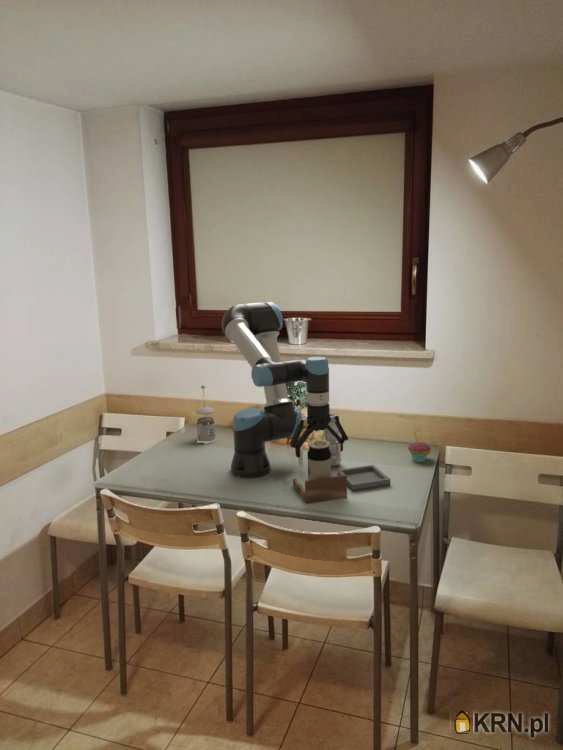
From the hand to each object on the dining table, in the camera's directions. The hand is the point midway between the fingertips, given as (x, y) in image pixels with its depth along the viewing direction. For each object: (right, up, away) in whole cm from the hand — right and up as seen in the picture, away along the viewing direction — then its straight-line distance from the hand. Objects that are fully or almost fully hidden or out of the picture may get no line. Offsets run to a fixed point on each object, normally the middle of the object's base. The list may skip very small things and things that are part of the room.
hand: (319, 463), depth 210 cm
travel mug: (0, -11, +3) cm, 11 cm away
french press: (-46, +2, +60) cm, 76 cm away
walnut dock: (0, -11, +3) cm, 11 cm away
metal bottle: (+7, -5, +27) cm, 28 cm away
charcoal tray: (+16, -8, +11) cm, 21 cm away
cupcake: (+41, -3, +29) cm, 50 cm away
